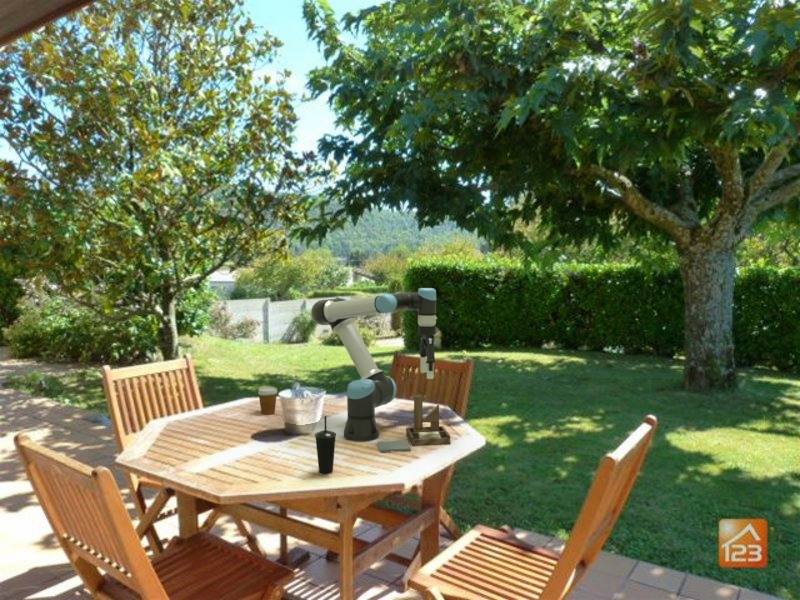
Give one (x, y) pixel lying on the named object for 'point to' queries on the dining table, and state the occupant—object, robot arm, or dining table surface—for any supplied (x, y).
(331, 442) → the drinking cup
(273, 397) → the disposable coffee cup
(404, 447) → the slate tile
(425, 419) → the wooden block assembly
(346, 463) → the dining table surface
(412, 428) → the walnut rack
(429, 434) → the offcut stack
